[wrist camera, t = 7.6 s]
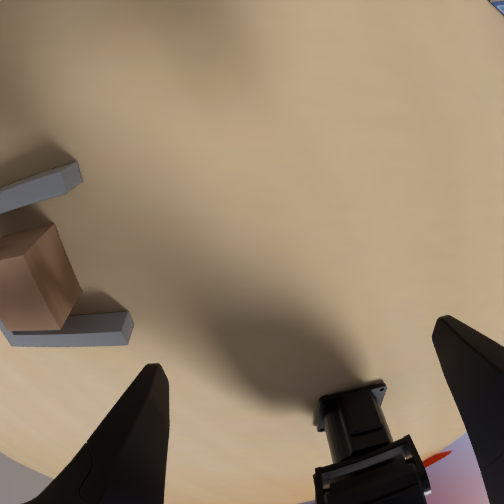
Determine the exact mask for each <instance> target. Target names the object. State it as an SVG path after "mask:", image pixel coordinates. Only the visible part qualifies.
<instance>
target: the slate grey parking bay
mask: <svg viewBox="0 0 504 504" xmlns="http://www.w3.org/2000/svg"><path fill="white" fill-rule="evenodd" d="M81 182H83V181H82V177H81V174H80V170H79V166H78V162H73V163H70V164H67V165H64V166H60V167H57V168H54V169H51V170H48V171H45V172H42V173H39V174H37V175H34V176H31V177H28V178H25V179H23V180H20V181H17V182H15V183H12V184H10V185H7V186H4V187H2V188H0V214H1V213H4V212H7V211H10V210H14V209H17V208H20V207H23V206H26V205H29V204H33V203H36V202H39V201H43V200H46V199H49V198H53V197H56V196H60V195H64V194H67V193H68V192H70V191H71V190H72V189H73V188H75V187H76V186H77V185H79V184H80V183H81ZM133 327H134V323H133V321H132V318H131V316H130V314H129V311H125V312H114V313H102V314H89V315H75V316H68V317H67V319H66V321H65V323H64V325H63V326H62V328H61V330H39V331H7V329H6V328H5V326H4V325H3V323H2V321H1V320H0V329H1V331H2V332H3V334H4V336H5V337H6V339H7V340H8V342H9V343H10V345H11V346H21V347H90V346H118V345H128V343H129V339H130V336H131V333H132V330H133Z"/></svg>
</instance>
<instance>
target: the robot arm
mask: <svg viewBox="0 0 504 504" xmlns="http://www.w3.org/2000/svg"><path fill="white" fill-rule="evenodd" d="M432 341H433V344H434V347H435V350H436V353H437V356H438V358H439V361H440V364H441V367H442V371H443V373H444V376H445V379H446V381H447V384H448V386H449V388H450V391H451V393H452V395H453V398H454V400H455V402H456V405H457V407H458V410H459V412H460V415H461V417H462V420H463V422H464V425H465V428H466V430H467V433H468V436H469V438H470V441H471V444H472V447H473V449H474V452H475V455H476V458H477V461H478V465H479V468H480V471H481V474H482V478H483V481H484V484H485V488H486V491H487V495H488V499H489V502H490V504H504V347H503V346H502V345H500V344H498V343H497V342H495V341H493V340H491V339H490V338H488V337H486V336H485V335H483V334H481V333H480V332H478V331H476V330H475V329H473V328H471V327H469V326H468V325H466V324H464V323H462V322H461V321H459V320H457V319H455V318H454V317H452V316H450V315H445V316H441V317H439V318H438V319H437V321H436V324H435V327H434V331H433V334H432ZM386 389H387V387H386V384H385V383H382V384H378V385H374V386H370V387H366V388H362V389H358V390H353V391H349V392H344V393H340V394H335V395H330V396H325V397H322V398H320V399H319V406H318V419H317V431H318V432H324V431H326V435H327V439H328V444H329V448H330V452H331V456H332V461H333V464H331V465H328V466H325V467H318V468H315V474H314V475H313V479H314V484H315V504H427V503H426V499H425V496H427V495H429V494H431V488H430V483H429V479H428V476H427V473H426V470H425V468H424V465H423V463H422V461H421V459H420V456H419V454H418V452H417V450H416V448H415V445H414V443H413V441H412V439H411V437H410V435H409V434H408V435H406V436H404V438H402V439H399V440H397V441H395V442H393V439H392V436H391V433H390V430H389V428H388V425H387V422H386V420H385V417H384V414H383V412H382V409H381V404H382V401H383V398H384V395H385V392H386ZM169 427H170V420H169V382H168V379H167V377H166V375H165V373H164V370H163V368H162V366H161V365H160V364H159V363H152V364H147V365H146V366H145V367H144V368H143V369H142V371H141V372H140V373H139V374H138V376H137V377H136V378H135V380H134V381H133V382H132V383H131V385H130V386H129V387H128V388H127V390H126V391H125V392H124V394H123V395H122V396H121V397H120V399H119V400H118V401H117V403H116V404H115V405H114V406H113V408H112V409H111V410H110V412H109V413H108V414H107V416H106V417H105V418H104V419H103V421H102V422H101V423H100V425H99V426H98V427H97V429H96V430H95V431H94V432H93V434H92V435H91V436H90V438H89V439H88V440H87V443H85V444H84V445H83V447H82V448H81V449H80V451H79V452H78V453H77V454H76V456H75V457H74V458H73V459H72V460H71V462H70V463H69V464H68V465H67V466H66V467H65V468H64V469H63V470H62V472H61V473H60V474H59V475H58V476H57V477H56V478H55V479H54V480H53V481H52V482H51V483H50V484H49V485H48V486H47V487H46V488H45V489H44V490H43V491H42V492H41V493H40V494H39V495H38V496H37V497H35V498H34V499H32V500H30V501H28V502H26V503H23V504H164V489H165V475H166V462H167V451H168V440H169ZM405 457H406V460H405Z"/></svg>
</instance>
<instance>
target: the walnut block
mask: <svg viewBox="0 0 504 504" xmlns="http://www.w3.org/2000/svg"><path fill="white" fill-rule="evenodd" d="M81 292H82V290H81V288H80V285H79V283H78V281H77V279H76V276H75V274H74V272H73V269H72V267H71V265H70V262H69V260H68V257H67V255H66V252H65V250H64V247H63V245H62V242H61V239H60V237H59V234H58V231H57V229H56V226H55V224H51V225H47V226H43V227H39V228H35V229H31V230H27V231H23V232H20V233H16V234H12V235H8V236H5V237H3V238H2V239H1V240H0V320H1V321H2V323H3V325H4V326H5V328H6V329H7V331H39V330H61V328H62V326H63V325H64V323H65V321H66V319H67V317H68V315H69V314H70V312H71V310H72V308H73V306H74V305H75V303H76V301H77V299H78V298H79V296H80V294H81Z"/></svg>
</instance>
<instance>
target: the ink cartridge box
mask: <svg viewBox="0 0 504 504" xmlns="http://www.w3.org/2000/svg"><path fill="white" fill-rule="evenodd" d="M490 2H491V3H492V4H493V5H494V6H495V7H496V8H497V9H498V10H499V11H500V12H501V13H502V14H503V15H504V0H490Z"/></svg>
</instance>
